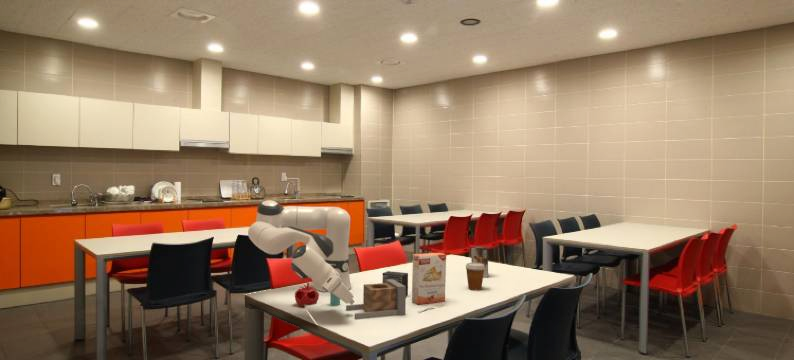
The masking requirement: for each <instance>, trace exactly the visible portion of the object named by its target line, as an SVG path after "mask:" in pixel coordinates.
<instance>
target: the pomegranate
mask: <svg viewBox="0 0 794 360" xmlns="http://www.w3.org/2000/svg"><path fill="white" fill-rule="evenodd" d="M309 283H310V282H306V285H305V284H304V285H303V286H299V289H297V290H296V291H295V292H294V299H295V303H296V304H297V306H299V307H305V306H311V305H315V304H316V305H317V303H318V301H319V297H320V294H319V291H318V290H316V289H313V288H315V287H313V285H312V287H313V288H312V287H311V286H310V287H309Z"/></svg>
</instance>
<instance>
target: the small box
mask: <svg viewBox="0 0 794 360" xmlns="http://www.w3.org/2000/svg"><path fill="white" fill-rule="evenodd" d="M388 279H393V280H395V281H397V282H399V283H401V284H402V285H404V286H406V297H408V295H409V273H408V272H401V271H399V272H398V271H391V270H390V271H388V270H387V271H385V272H382V283H386V280H388Z"/></svg>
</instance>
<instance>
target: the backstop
mask: <svg viewBox="0 0 794 360" xmlns="http://www.w3.org/2000/svg"><path fill="white" fill-rule="evenodd" d="M386 283H388V284H390V285H391V286H393V287H395V288H396V309H395V310H385V311H374V312H366V311H364V312H356V313H354V320H362V319H363V320H365V319H370V318H371V319H372V318H381V317H393V316H405V315H406V304H407V302H406V297H407V296H406V286H404V285H402V284H401V283H399V282H397V281H395V280H393V279H388V280H386ZM357 310H358V311H360V310H363V303H359V304H358V303H356V304H353V305H351V304H347V305H345V311H347V312H348V311H350V312H351V311H357Z"/></svg>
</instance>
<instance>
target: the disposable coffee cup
mask: <svg viewBox="0 0 794 360" xmlns="http://www.w3.org/2000/svg"><path fill="white" fill-rule="evenodd" d="M465 269H466V280H467V286H468V287H467V289H468V290H469V291H470V290H471V291H481V290H482V288H483V280H484V277H483V274H484V269H485V267H484V264H481V263H471V262H467V263H466V264H465Z"/></svg>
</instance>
